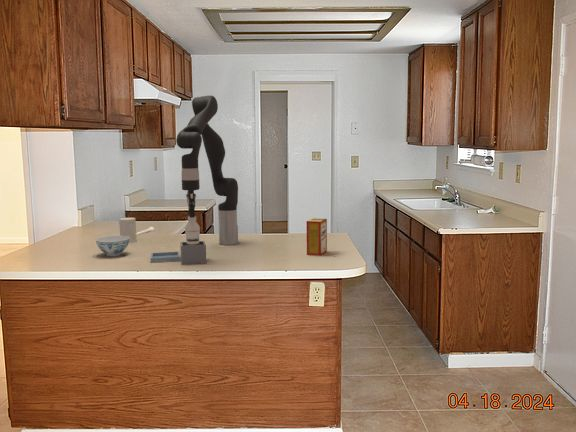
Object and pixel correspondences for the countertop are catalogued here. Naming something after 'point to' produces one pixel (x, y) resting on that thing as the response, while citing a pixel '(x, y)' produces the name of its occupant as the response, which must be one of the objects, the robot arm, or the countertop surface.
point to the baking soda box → (316, 236)
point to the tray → (165, 257)
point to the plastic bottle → (192, 231)
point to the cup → (128, 228)
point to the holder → (193, 253)
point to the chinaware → (112, 244)
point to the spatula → (146, 231)
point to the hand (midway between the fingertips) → (191, 216)
